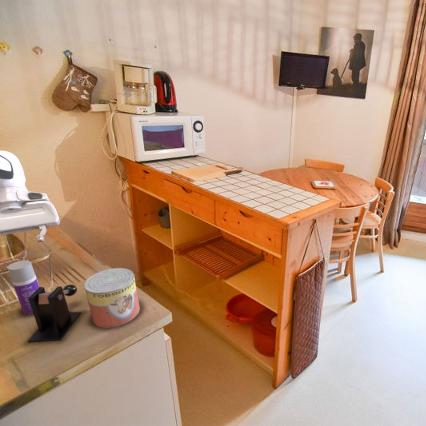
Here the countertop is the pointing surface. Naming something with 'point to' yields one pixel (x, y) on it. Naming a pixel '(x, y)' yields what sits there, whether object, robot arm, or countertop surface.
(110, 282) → the canned food
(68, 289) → the lever
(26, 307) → the container
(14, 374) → the countertop surface
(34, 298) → the bracket
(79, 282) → the countertop surface
